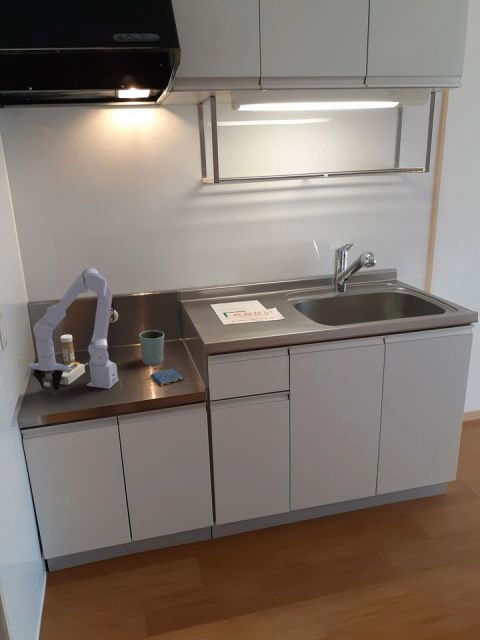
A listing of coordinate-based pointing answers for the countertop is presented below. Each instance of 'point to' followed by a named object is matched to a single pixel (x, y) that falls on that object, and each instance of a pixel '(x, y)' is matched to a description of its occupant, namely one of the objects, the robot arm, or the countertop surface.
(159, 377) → the woven mat
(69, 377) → the power strip
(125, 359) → the countertop surface
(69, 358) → the sprinkles bottle
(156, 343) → the teal cup
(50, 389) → the charger
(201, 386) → the countertop surface
